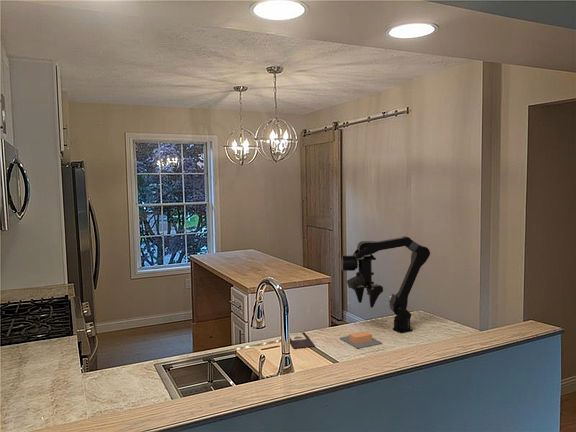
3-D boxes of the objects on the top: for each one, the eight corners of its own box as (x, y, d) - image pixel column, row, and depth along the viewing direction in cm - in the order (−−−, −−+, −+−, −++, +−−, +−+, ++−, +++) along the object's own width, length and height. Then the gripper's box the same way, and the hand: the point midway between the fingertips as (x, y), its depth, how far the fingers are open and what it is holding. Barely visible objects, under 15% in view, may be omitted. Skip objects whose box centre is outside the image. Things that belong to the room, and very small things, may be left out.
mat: (363, 334, 196) (363, 333, 196) (382, 343, 183) (382, 342, 183) (339, 338, 191) (339, 337, 191) (357, 348, 178) (357, 347, 178)
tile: (349, 340, 188) (349, 334, 188) (365, 336, 191) (365, 331, 191) (355, 343, 183) (355, 337, 183) (372, 340, 186) (371, 334, 186)
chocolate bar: (293, 347, 180) (284, 334, 198) (293, 350, 180) (284, 336, 198) (315, 345, 182) (304, 332, 200) (315, 348, 182) (304, 334, 200)
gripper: (338, 268, 203) (339, 302, 204) (361, 275, 186) (362, 312, 186) (359, 266, 207) (360, 299, 208) (383, 272, 190) (384, 309, 191)
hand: (365, 305), depth 198 cm, fingers open, 9 cm apart
